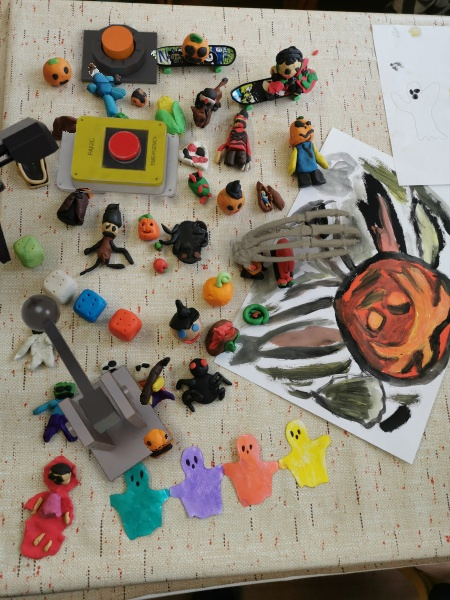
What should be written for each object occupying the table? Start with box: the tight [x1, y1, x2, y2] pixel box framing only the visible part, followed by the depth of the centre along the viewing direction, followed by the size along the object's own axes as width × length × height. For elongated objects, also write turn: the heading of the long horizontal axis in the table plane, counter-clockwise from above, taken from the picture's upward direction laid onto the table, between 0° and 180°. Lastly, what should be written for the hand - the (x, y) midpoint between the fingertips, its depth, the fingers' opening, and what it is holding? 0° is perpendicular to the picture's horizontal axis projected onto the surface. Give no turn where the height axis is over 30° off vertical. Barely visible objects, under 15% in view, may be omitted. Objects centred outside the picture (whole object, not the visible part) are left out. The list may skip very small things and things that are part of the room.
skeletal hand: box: [232, 208, 362, 272], centre depth 68 cm, size 6×17×6 cm, turn 102°
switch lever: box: [20, 293, 122, 434], centre depth 51 cm, size 15×4×4 cm, turn 35°
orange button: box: [102, 26, 134, 60], centre depth 74 cm, size 4×4×2 cm
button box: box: [80, 23, 158, 85], centre depth 75 cm, size 10×8×2 cm
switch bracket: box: [57, 364, 173, 483], centre depth 55 cm, size 10×8×17 cm
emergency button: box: [55, 115, 180, 198], centre depth 70 cm, size 9×4×15 cm
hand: (7, 261), depth 53 cm, fingers closed
